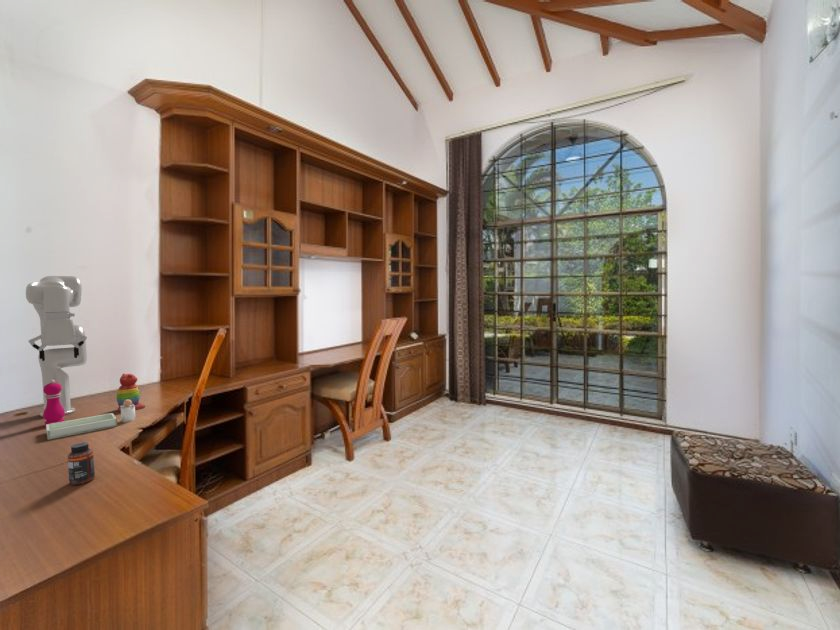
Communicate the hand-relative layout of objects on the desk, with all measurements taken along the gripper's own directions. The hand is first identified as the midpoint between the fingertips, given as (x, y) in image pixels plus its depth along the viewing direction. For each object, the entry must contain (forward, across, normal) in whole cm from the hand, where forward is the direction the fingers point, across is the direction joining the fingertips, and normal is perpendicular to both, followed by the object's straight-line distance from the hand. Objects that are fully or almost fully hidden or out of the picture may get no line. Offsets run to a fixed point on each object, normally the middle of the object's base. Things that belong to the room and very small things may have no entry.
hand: (59, 359), depth 160 cm
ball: (+23, -22, -5) cm, 32 cm away
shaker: (+31, -22, -5) cm, 39 cm away
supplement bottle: (+31, -1, +59) cm, 67 cm away
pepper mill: (+31, +2, -23) cm, 39 cm away
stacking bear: (+31, -26, -28) cm, 49 cm away
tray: (+31, -6, -4) cm, 32 cm away
